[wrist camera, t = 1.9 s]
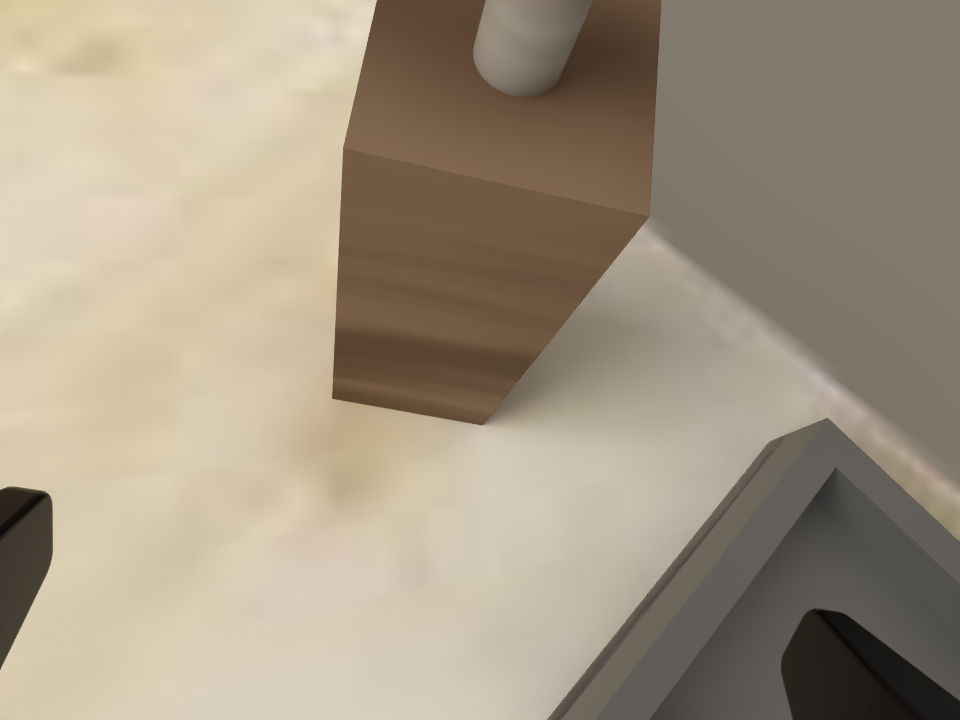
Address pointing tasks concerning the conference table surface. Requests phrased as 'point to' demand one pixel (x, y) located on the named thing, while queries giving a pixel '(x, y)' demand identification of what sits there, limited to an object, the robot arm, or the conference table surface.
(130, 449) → the conference table surface
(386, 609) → the conference table surface
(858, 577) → the tray
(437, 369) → the block
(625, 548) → the conference table surface
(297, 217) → the conference table surface
